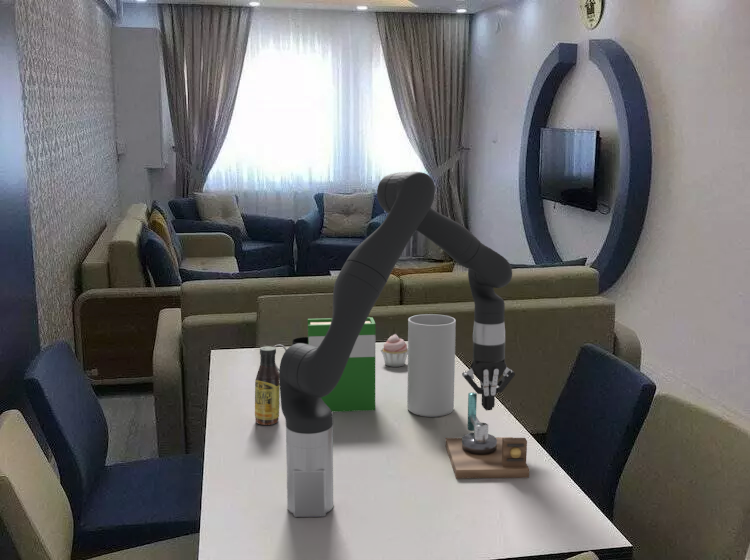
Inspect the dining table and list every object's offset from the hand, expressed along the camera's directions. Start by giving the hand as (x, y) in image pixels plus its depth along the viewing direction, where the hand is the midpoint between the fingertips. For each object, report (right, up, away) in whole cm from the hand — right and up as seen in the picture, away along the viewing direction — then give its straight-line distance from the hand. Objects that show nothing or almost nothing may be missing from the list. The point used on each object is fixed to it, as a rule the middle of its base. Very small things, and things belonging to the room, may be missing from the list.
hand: (488, 409), depth 191 cm
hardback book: (-36, -4, +26) cm, 45 cm away
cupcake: (-21, +4, +65) cm, 68 cm away
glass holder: (-50, -1, +39) cm, 63 cm away
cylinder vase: (-12, -4, +24) cm, 27 cm away
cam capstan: (-3, -7, -5) cm, 9 cm away
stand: (-2, -10, -9) cm, 14 cm away
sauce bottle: (-55, -6, +14) cm, 57 cm away
